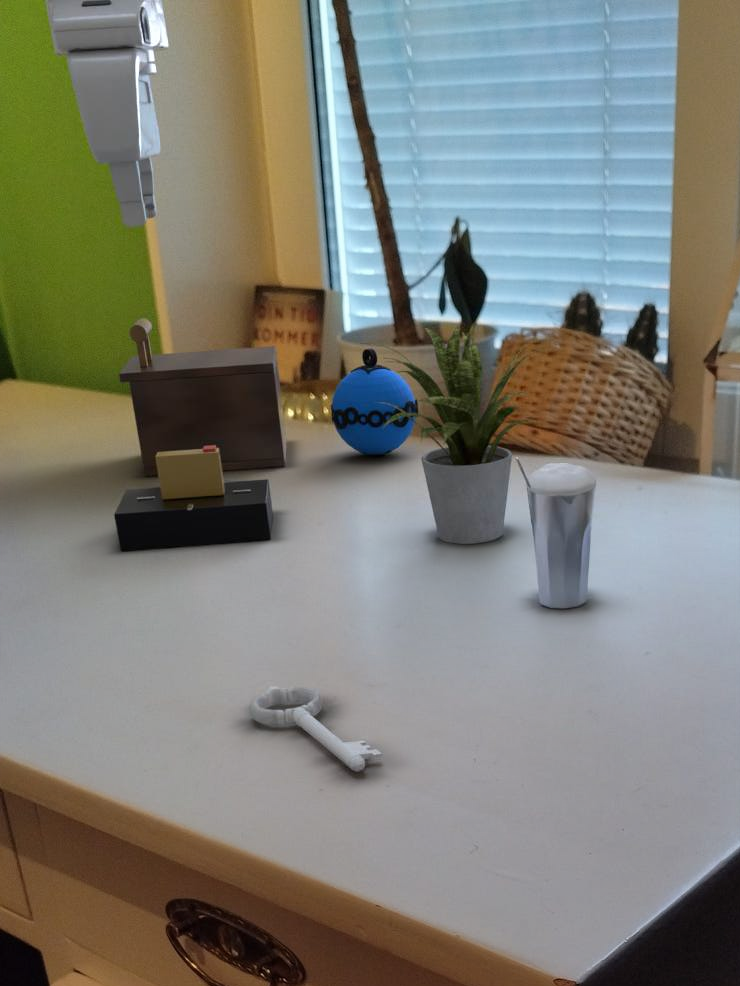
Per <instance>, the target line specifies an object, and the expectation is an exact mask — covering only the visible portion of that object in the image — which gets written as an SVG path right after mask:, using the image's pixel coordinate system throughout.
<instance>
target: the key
mask: <svg viewBox="0 0 740 986" xmlns="http://www.w3.org/2000/svg"><path fill="white" fill-rule="evenodd" d="M288 701H289V702H291V703H306V704H302V705H299V706H296V707H292V708H286V709H285V710H282V709H267V708H269V707H270V708H271V707H272V706H276V705H279V704H287V702H288ZM323 705H324V699H323V697H322V695H321V694H320V692H318V691H317V690H314V688H309V687H302V686H291V687H288V689H287V688H285V687H281V688H279V687H277V686H273V685H272V686H270V687H268V688H267V690H266V691H265V692H264V693H262V694H259V695H257V696H255V697H254V698H253V699H252V701H250V704H249V714H250V717H251V718H252V719H253V720H254V721H255V722H257V723H259V724H262V725H266V726H267V725H268V726H282V725H285V724H287V725H292V724H293V725H294V724H296V725H297V726H298V727H300V728H302V729H303V730H304V731H306V732H307V733H308V734H309V735H310V736H312V738H314V739H315V740H316V741H317V742H319V744H321V745H322V746H323V747H325V749H327V750H328V751H329V752H330V753H332V754H333V755H334V756H335V757H336V758H338V759H339V760H340V761H341V762H342V763H343V764H345V765H346V766H347V767H348V768H349V769H350V770H352V771H353V772H357V773H358V772H361V771H363V770H364V769H365V766H366V761H365V760H367V759H369V758H373V759H376V758H380V757H382V756H383V753H382V752H380V751H379V750H378V749H377V748H375V749H372V746H370V745H369V744H368V743H367V742H366V741H365V740H364V739H362V740H357V741H347V742H343V740H341V739H340V738H339V737H338V736H337V735H335V734H334V733H333V732H331V730H329V729H328V728H327V727H326V726H325V725H323V723H321V722H320V721H319V720H317V719H316V718H315V717H316V716H317V715H318V714H319V713H320V712H321V711H322V709H323Z"/></svg>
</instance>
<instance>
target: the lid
mask: <svg viewBox="0 0 740 986" xmlns="http://www.w3.org/2000/svg"><path fill="white" fill-rule="evenodd" d="M152 330H153V325H152V323H151V321H150V320H149V319H147V318H146V317H140V318H138V319H137V320H136V321H135V322H134V323H133V325H132V326H131V327H130V329H129V337H130V339H131V340H132V341H133V342H135V345H136V350H137V351H136V352H137V355H131V357H130V359H128V361H127V362H126V364H125V365H124V366H123V368H121V370H120V372H119V373H118V376H119V382H120V383H129V382H135V381H149V380H163V379H177V378H192V377H206V376H220V375H234V374H248V373H262V372H274V369H275V361H276V356H277V347H276V346H261V347H260V346H259V347H243V348H229V349H216V350H200V351H185V352H172V353H156V354H152V349H151V342H150V334H151V333H152Z"/></svg>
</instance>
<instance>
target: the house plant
mask: <svg viewBox="0 0 740 986" xmlns="http://www.w3.org/2000/svg"><path fill="white" fill-rule="evenodd" d="M477 320H478V318H476V319H475V321H474V322H473V323H472V325H471V326H470V329H469V331H468V334H467V336H466V334H465V332H464V331H461V332H462V340H463V350H462V354H461V360H460V349H461V348H460V347H461V346H460V345H461V339H460V338H461V337H460V329H461V328H460V325H458V326H457V327H455V328H454V330H453V331H452V334H451V336H450V337H449V339H448V341H447V345H446V346H445V343H444V341H443V339H442V338H441V336H439V335H438V334H437V333H436V332H435V331H433V329H432V330H431V328H427V327H424V329H425V331H426V332H427V333H428V335H429V337H430V339H431V342H432V345H433V347H434V352H435V358H436V361H437V362H436V363H437V366H438V369H439V372H440V374H441V376H442V378H443V382H444V384H445V388H446V391H447V394H448V395H447V396H445V395H444V393H443V392H442V390H441V389H440V386H439V385H438V383H436V381H434V379H433V378H432V377H431V376H430V375H429V374H428V373H426V371H424V369H422V368H420V367H419V366H418V365H414V364H413V363H412V361H410V360H409V358H407V357H406V356H404V355H403V354H402V353H401V352H399V350H396V349H394V348H391V347H390V346H386V345H382V344H378V343H377V344H376V343H369V345H370V346H377V347H378V346H379V347H382V348H386V349H389V350H392V351H393V352H396V353H398V355H400V356H402V358H404V359H406V360H407V361H408V362H405V361H401V360H399V359H396V358H393V357H392V358H391V357H384V359H385V360H388V361H384V363H394V361H395V363H397V364H402V365H404V366H405V367H407V368H408V369H409V370H399V371H394V372H395V373H397V374H398V373H406V374H407V375H409V376H410V377H411V378H412V379H414V380H415V381H416V382H417V383H418V384H419V385H420V387H421V388H422V389H423V391H424V393H425V394H426V395H427V396H428V397H426V398H421V399H420V400H419V402H423V403H426V404H431V405H432V406H433V407H434V410H435V411H436V413H437V415H438V416H439V419H440V420H441V422H442V424H441V423H440V422H438V421H437V420H436V419H435V418H433V417H431V416H430V417H429V416H426V415H422V414H421V413H418V414H417V413H410V412H405V411H403V410H402V409H401V408H399V407H397V406H395V405H393V404H390V403H384V402H375V403H384V404H388V405H391V406H393V407H395V408H397V409H399V410H400V411H401V412H403V413H398V414H396V415H394V416H392V417H391V418H389V419H388V421H387V422H386V424H385V425H384V427H385V426H386V425H387V424H389V423H391V422H392V421H394V420H397V419H399V418H402V417H405V416H407V417H408V418H409V419H410V420H411V421H413V422H414V423H415V424H414V425H416V426H417V427H419V429H421V437H420V441H422V440H423V439H424V437H425V436H429V437H430V438H431V439H432V440H433V441H434V443H436V444H437V445H438V446H439V447H440V448H437V449H434V450H430V451H429V452H426V453H424V454H423V455H422V456H421V458H420V459H421V464H422V468H423V472H424V478H425V482H426V486H427V490H428V495H429V500H430V504H431V508H432V514H433V517H434V522H435V525H436V531H437V536H438V539H439V540H440V541H443V542H446V543H450V544H459V545H472V544H482V543H488V542H492V541H495V540H497V539H499V538H501V537H502V536H503V533H504V528H505V527H504V525H505V519H506V518H505V517H506V509H507V501H508V493H509V486H510V485H509V484H510V476H511V468H512V460H513V454H512V452H511V450H509V449H508V448H504V447H501V446H498V445H499V443H500V442H501V440H502V439H503V437H504V435H505V434H506V433H507V432H508V431H510V430H511V429H512V428H514V427H515V426H517V425H520V424H522V423H528V422H531V423H534V424H535V425H538V424H537V422H536V421H535V420H534V419H533V418H530V419H529V418H528V419H522V420H517V421H513V422H511V423H509V424H508V425H507V426H505V427H504V428H503V429H502V430H501V431H500V432H498V434H497V435H496V437H495V439H494V440H493V442H492V443H491V445H489V444H490V442H491V439H492V437H493V436H494V435H495V434H496V432H497V430H499V428H500V427H501V426H502V424H503V423H504V421H505V419H506V418H508V416H510V415H511V414H513V413H514V412H515V410H518V409H519V407H517V406H513V405H506V406H503V407H501V406H502V405H503V404H504V403H505V402H507V401H508V400H509V399H510V398H512V397H513V396H517V395H518V396H519V395H525V396H526V397H529V395H528V394H527V393H525V392H523V391H520V392H513V393H508V394H505V395H503V396H502V397H500V395H501V393H502V392H503V390H504V388H505V386H506V385H507V382H508V381H509V380H510V378H511V376H512V375H513V373H514V372H515V371H516V369H517V368H518V367H519V366H520V364H521V363H522V362H523V361H524V360H525V359H526V358H527V357H529V356H530V355H532V354H533V353H535V352H537V351H539V350H542V349H545V348H546V346H543V347H540V348H537V349H535V350H533V351H532V352H530V353H528V354H527V355H525V356H524V357H523V358H521V359H520V360H519V361H517V362H516V359H517V358H518V356H519V355H520V353H521V352H522V351H523V350H524V348H525V347H526V345H523V347H522V348H521V349H520V350H519V351H518V352H517V353H516V354H515V356H514V357H513V358H512V360H511V362H510V364H509V365H508V367H507V368H506V370H505V372H504V373H503V374H502V376H501V377H500V379H499V381H498V383H497V384H496V386H495V388H494V390H493V392H492V394H491V396H490V398H489V401H488V404H487V406H486V408H485V411H484V412H483V414H482V416H481V418H480V419H479V418H478V413H479V408H480V401H481V387H482V384H481V383H482V375H483V367H482V358H481V353H480V350H479V348H478V346H477V344H476V342H475V340H474V339H473V338H472V334H473V331H474V328H475V325H476V322H477ZM471 340H472V341H471ZM360 344H362V345H368V343H367V342H361V343H360ZM389 360H390V361H389ZM391 360H392V361H391ZM515 362H516V364H515ZM514 364H515V365H514ZM513 365H514V366H513ZM512 366H513V367H512ZM499 397H500V398H499ZM500 407H501V408H500ZM410 416H417V417H412V418H416V419H417V418H421V419H424V420H425V421H427V422H428V423H430V424H431V426H433V427H431V426H421V424H419V423H418V422H417V421H416V419H415V420H413V419H412V418H411V417H410ZM384 427H383V428H384ZM435 431H436V432H437V433H438V434H439V435H440V436H441V438H442V439H443V444H445V443H446V445H447V446H445V447H443V446H442V444H441V443H440V442H439V441H438V440H437V439H435V437H434V436H432V435H431V433H433V432H435Z"/></svg>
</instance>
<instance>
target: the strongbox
mask: <svg viewBox="0 0 740 986" xmlns="http://www.w3.org/2000/svg"><path fill="white" fill-rule="evenodd" d="M128 384H129V389H130V396H131V401H132V402H131V403H132V407H133V414H134V420H135V426H136V431H137V437H138V443H139V449H140V455H141V460H142V461H141V462H142V466H143V472H144V476H145V477H157V476H158V470H157V464H156V454H157V452H166V451H180V450H194V449H203V447H204V446H211V445H216V448H219V451H220V458H221V465H222V472H226V471H227V472H228V471H239V470H240V471H241V470H252V469H253V470H254V469H255V470H256V469H266V468H267V469H268V468H282V467H283V468H284V467H286V461H287V460H286V459H287V446H288V445H287V434H286V425H285V416H284V409H283V407H284V406H283V399H282V389H281V381H280V372H279V364H278V356H277V355H276V361H275V369H274V372H262V373H248V374H234V375H220V376H206V377H192V378H177V379H163V380H149V381H135V382H128ZM158 477H159V476H158Z"/></svg>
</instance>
